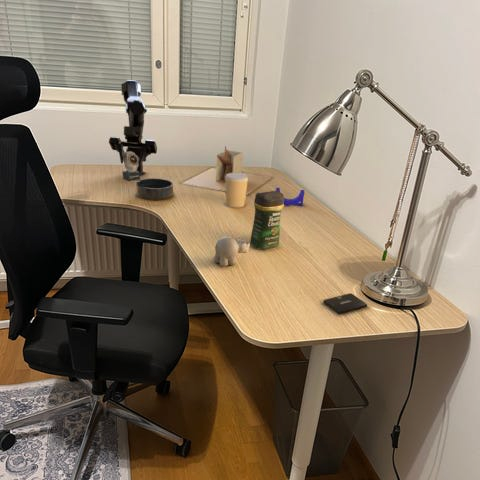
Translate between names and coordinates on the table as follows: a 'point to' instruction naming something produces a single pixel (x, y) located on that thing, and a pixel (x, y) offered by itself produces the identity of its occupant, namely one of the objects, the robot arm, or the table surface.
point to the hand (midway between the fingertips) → (130, 163)
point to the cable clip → (295, 200)
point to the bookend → (225, 165)
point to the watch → (131, 162)
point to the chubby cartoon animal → (229, 250)
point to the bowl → (154, 189)
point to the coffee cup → (236, 189)
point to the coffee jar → (267, 219)
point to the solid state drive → (345, 303)
